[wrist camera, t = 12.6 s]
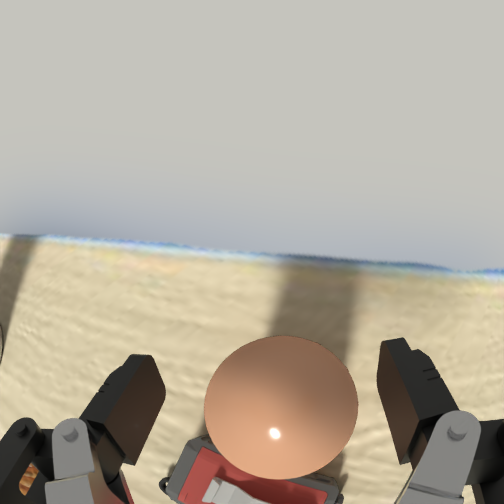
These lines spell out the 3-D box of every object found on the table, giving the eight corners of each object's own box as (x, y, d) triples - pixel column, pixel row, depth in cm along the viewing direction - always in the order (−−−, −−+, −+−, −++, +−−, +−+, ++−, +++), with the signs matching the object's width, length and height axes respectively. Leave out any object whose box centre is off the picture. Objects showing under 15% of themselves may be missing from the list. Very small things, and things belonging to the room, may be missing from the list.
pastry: (24, 446, 20) (1, 445, 17) (58, 455, 19) (33, 456, 16) (40, 511, 15) (19, 515, 12) (77, 526, 15) (54, 533, 12)
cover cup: (238, 429, 19) (188, 453, 10) (260, 351, 22) (227, 321, 13) (323, 449, 17) (333, 491, 9) (344, 368, 20) (372, 350, 11)
